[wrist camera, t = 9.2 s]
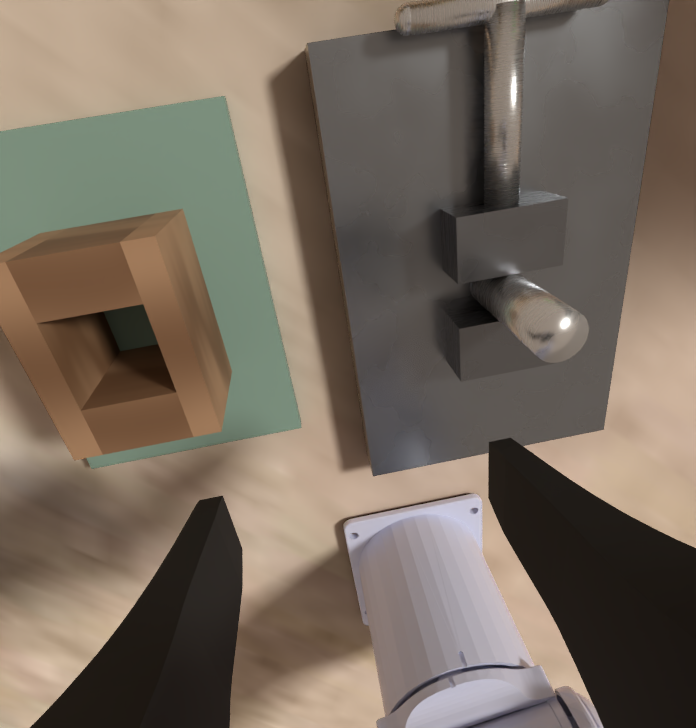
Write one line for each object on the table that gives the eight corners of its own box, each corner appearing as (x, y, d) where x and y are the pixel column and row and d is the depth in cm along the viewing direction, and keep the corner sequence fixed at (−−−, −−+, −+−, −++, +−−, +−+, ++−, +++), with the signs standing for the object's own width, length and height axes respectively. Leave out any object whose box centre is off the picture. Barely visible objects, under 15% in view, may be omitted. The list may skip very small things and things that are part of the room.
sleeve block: (232, 371, 21) (221, 431, 17) (113, 393, 20) (74, 460, 16) (182, 208, 17) (155, 235, 13) (40, 233, 17) (-32, 268, 13)
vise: (585, 412, 25) (684, 506, 19) (367, 455, 25) (397, 568, 19) (640, -20, 16) (857, -101, 10) (301, 31, 16) (317, -22, 10)
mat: (300, 420, 23) (301, 427, 23) (96, 460, 23) (91, 468, 22) (225, 96, 16) (223, 96, 16) (-69, 143, 16) (-81, 144, 15)
